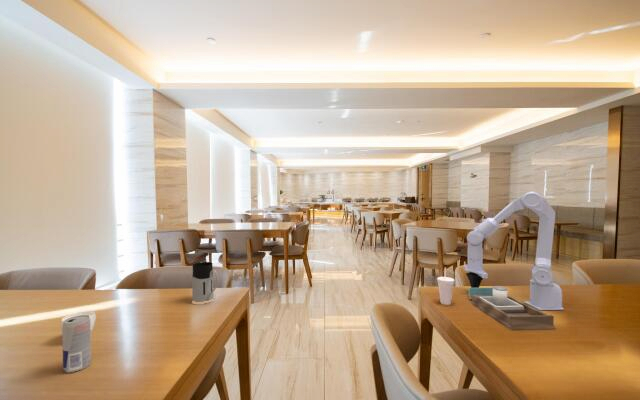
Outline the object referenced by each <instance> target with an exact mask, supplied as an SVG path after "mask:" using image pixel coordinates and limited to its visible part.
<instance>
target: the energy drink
mask: <svg viewBox="0 0 640 400" xmlns="http://www.w3.org/2000/svg"><path fill="white" fill-rule="evenodd" d="M61 333H62V334H61V337H62V340H61V341H62V371H63V372H64V373H66V372H67V373H69V374H70V372H73V373H76V372H75V371H77V372H80V371H82V370H84V369H86V368H88V367H89V366H90V364H91V362H92V344H91V343H92V340H91V338H92V337H91V335H92V331H91V327H90V318H89V316H88V315H80V316H75V317H71V318H69V319H66V320H65V321H64V322H63V325H62V326H61ZM88 365H89V366H88ZM79 370H80V371H79Z"/></svg>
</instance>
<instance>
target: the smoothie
mask: <svg viewBox="0 0 640 400" xmlns="http://www.w3.org/2000/svg"><path fill="white" fill-rule="evenodd" d="M436 281H437V285H438V293H439V301H440V303H441V305H444V306H450V305H451V304H452V297H453V291H454V284H455V279H454V278H453V277H450V276H447V267H444V276H438V277H437V278H436Z"/></svg>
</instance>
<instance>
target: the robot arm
mask: <svg viewBox="0 0 640 400" xmlns="http://www.w3.org/2000/svg"><path fill="white" fill-rule="evenodd" d="M525 208H527V209H529V210H531V211H533V212H534V213H535V214H537V216H538V217H539V222H538V232H537V241H536V252H535V260H534V264H533V266H532V267H531V269H530V271H531V278H530V279H529V300H525V301H524V302H523V303H525V304H527V305H529V306H531V307H533V308H535V309H537V310H539V311H562V310H565V308H564V307H563V290H562V288H561V287H560V285H558V283H555V282H553V281H554V275H553V272H552V270H551V269H552V254H553V253H552V251H553V243H554V233H555V232H554V230H555V222H556V211H555V210H554V208H553V206H552V205H551V204H550V203H549V202H548V200H547V198H545V196H543V195H541V194H540V193H538V192H536V191H527V192H526V193H524V194H523V195H521V196H519V197H518V198H516V199H514V200H512V201H511V202H510V203H509V204H507V205H506V206H505V207H504V208H503V209H501V210H500V211H499V212H498V213H497V214H496V215H495V216H494V217H487V218H483V219H482V220H481V223H480V224H478V225H477V226H474V227H473V230H471V231H470V232H468V234H467V236H466V240H467V264H464V265H463V270H464V272H465V271H466V273H465V275H466V276H467V279H468V281H469V285H470V288H480V287H481V283H482V281H483V279H489V273H487V272H486V271H485V270H484V264H483V261H484V260H483V257H484V255H483V254H484V252H483V251H484V248H483V241H484V239H487V238H489V237H490V236H491V235H492V234H494V233H495V232H496V231H497V230H499V228H500V223H501V222H502V221H504V220H506V219H507V218H508V217H510V216H511V215H512V214H513V213H515V212H517V211H520V210H524V209H525Z"/></svg>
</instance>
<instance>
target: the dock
mask: <svg viewBox="0 0 640 400" xmlns="http://www.w3.org/2000/svg"><path fill="white" fill-rule="evenodd" d="M507 298H508V299H510V300H512V301H514V302H516V303H518V304H520V305H522V306H524V309H526V312H520V313H505V312H503V311H501V310H500V309H498V308H496V307H495V306H493V305H491V304H489V303H488V302H486V301H484V300H483V299H481V298H479V297H478V296H476V295H472V298H471V299H472V300H471V301H470V305H472V306H474V307H475V308H477V309H478V310H479V311H481V312H483V313H484V314H486V315H487V316H489V317H491V318H492V319H494V320H495V321H497V322H498V323H499V324H501V325H503V326H504V327H506V328H507V329H508V330H510V331H512V330H514V331H515V330H516V331H517V330H524V331H525V330H553V329H554V330H555V329H556V325H555V324H554V322H555V321H554V318H555V317H554V315H552V314H547V313H545V312H542V310H538V309H536V308H534V307H532V306H530V305H528V304H526V303H524V302H523V301H520V300H519V299H516V298H514V297H512V296H511V295H509V294H507Z"/></svg>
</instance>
